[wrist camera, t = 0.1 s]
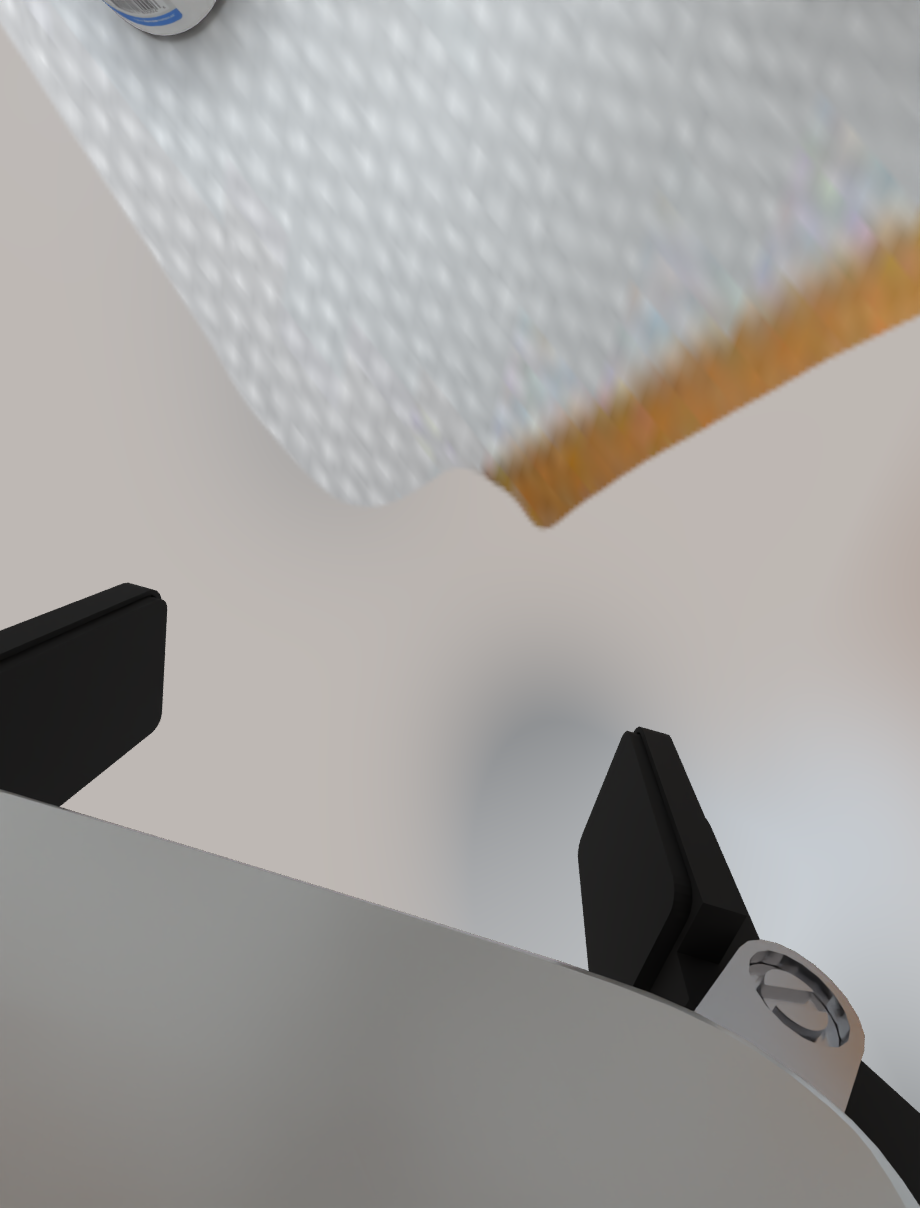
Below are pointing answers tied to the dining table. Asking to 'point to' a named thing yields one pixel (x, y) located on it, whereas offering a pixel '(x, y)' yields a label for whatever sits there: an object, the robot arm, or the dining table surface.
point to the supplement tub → (162, 14)
